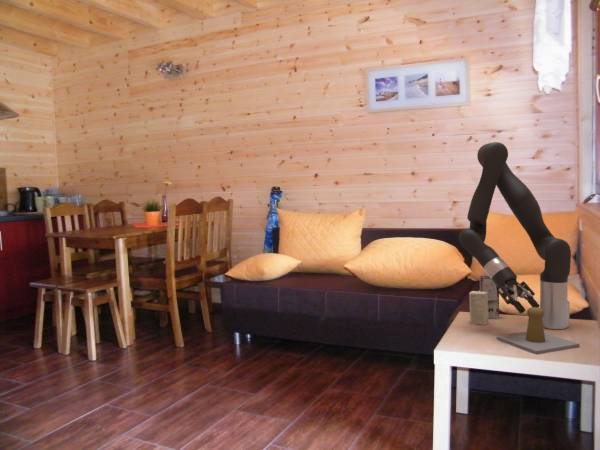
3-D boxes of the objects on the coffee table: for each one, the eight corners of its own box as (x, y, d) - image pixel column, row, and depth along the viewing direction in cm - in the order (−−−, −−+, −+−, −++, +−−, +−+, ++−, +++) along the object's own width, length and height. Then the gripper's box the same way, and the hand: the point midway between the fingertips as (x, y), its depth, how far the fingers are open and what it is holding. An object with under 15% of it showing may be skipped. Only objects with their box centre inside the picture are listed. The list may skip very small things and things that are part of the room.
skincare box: (488, 322, 202) (488, 291, 201) (485, 325, 198) (485, 293, 197) (472, 320, 205) (471, 290, 204) (469, 323, 201) (469, 292, 201)
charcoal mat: (536, 333, 186) (536, 330, 186) (579, 346, 169) (579, 343, 169) (496, 339, 180) (496, 336, 180) (536, 354, 163) (536, 351, 163)
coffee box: (499, 319, 207) (499, 279, 206) (482, 318, 208) (482, 278, 207) (495, 313, 216) (495, 275, 215) (479, 313, 217) (479, 275, 216)
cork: (537, 343, 170) (537, 310, 170) (521, 339, 176) (521, 307, 175) (549, 340, 173) (549, 308, 172) (533, 336, 178) (534, 305, 178)
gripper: (494, 268, 178) (526, 307, 169) (518, 263, 186) (549, 300, 177) (481, 281, 182) (511, 320, 174) (505, 276, 191) (534, 312, 182)
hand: (530, 310), depth 176 cm, fingers open, 8 cm apart
